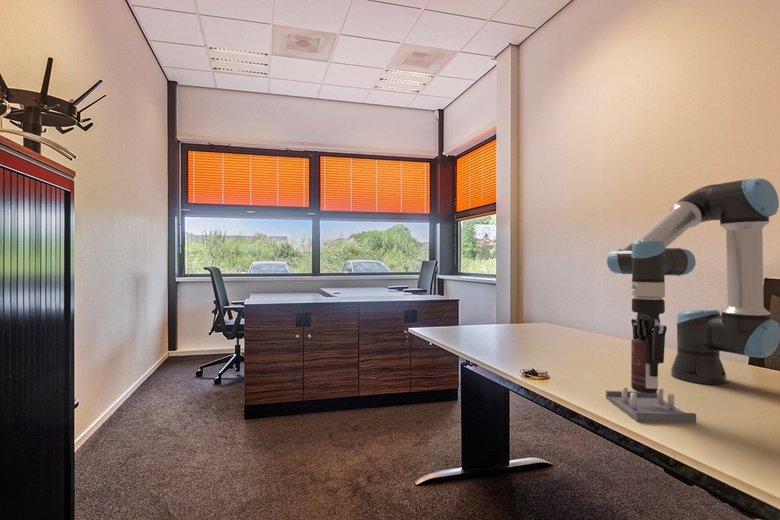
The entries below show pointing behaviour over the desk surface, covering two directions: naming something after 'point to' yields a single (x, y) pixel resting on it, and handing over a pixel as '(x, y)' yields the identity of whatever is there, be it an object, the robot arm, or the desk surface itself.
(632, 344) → the can
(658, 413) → the tray
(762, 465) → the desk surface
